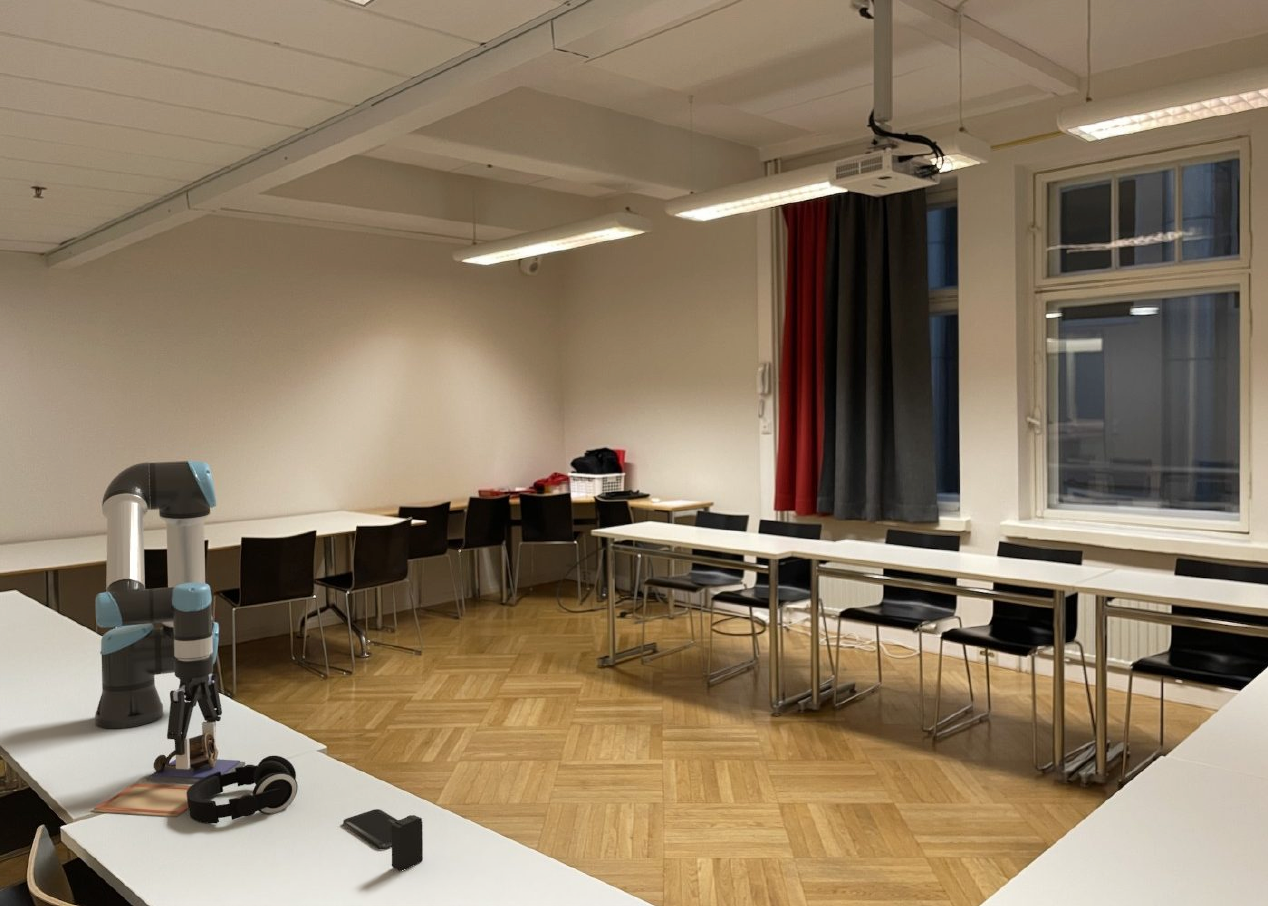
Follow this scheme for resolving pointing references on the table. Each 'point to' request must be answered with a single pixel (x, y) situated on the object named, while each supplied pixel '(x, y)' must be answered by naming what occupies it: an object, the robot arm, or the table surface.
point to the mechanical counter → (193, 753)
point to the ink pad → (194, 772)
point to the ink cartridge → (407, 842)
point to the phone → (372, 827)
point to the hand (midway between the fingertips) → (196, 759)
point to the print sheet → (148, 800)
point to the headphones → (267, 797)
